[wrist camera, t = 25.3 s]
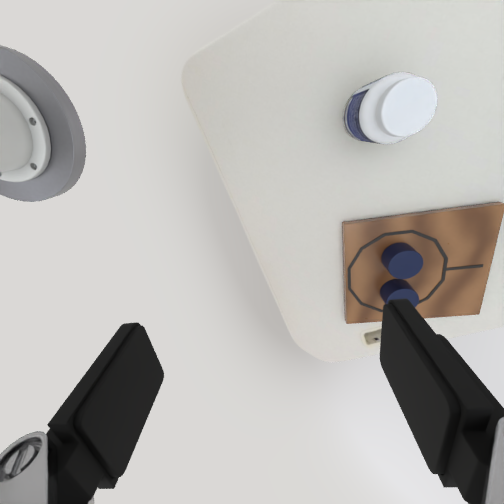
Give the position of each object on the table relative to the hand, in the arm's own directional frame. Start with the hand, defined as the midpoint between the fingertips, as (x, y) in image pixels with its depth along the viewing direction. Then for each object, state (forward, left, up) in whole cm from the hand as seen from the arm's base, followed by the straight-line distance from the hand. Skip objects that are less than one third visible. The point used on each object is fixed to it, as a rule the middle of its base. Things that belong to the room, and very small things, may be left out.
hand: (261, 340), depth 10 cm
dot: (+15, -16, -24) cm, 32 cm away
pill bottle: (+11, +7, -25) cm, 29 cm away
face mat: (+17, -13, -25) cm, 33 cm away
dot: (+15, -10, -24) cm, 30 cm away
